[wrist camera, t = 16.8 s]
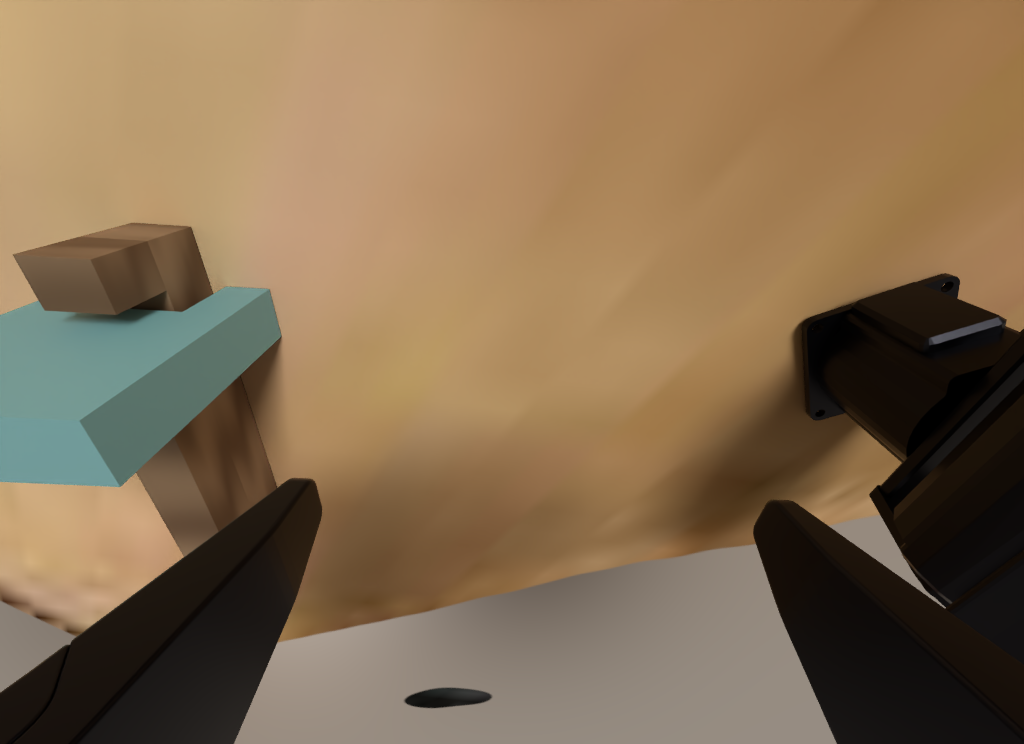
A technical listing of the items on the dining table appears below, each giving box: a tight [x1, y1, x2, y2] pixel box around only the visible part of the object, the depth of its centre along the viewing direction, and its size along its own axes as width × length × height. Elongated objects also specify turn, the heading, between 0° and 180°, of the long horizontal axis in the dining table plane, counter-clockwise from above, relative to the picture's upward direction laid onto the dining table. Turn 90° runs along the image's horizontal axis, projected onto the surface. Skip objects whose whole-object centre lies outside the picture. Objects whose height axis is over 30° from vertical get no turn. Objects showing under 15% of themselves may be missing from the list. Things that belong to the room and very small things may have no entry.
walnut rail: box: [13, 223, 277, 557], centre depth 21 cm, size 20×2×5 cm, turn 176°
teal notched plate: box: [0, 287, 281, 487], centre depth 16 cm, size 8×2×10 cm, turn 87°
